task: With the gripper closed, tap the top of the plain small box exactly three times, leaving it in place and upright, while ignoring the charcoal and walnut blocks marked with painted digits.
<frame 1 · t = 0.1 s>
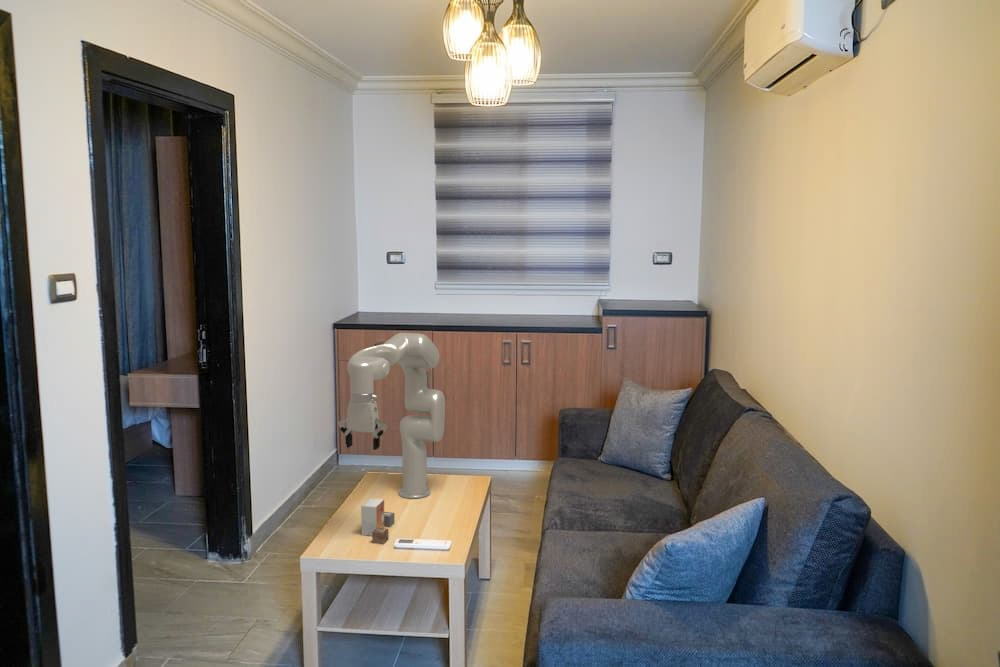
hand: (362, 447, 251), 31 cm above the table, fingers open, 9 cm apart
digit seven block: (380, 541, 251), on the table
digit one block: (386, 525, 265), on the table
small box: (373, 532, 259), on the table
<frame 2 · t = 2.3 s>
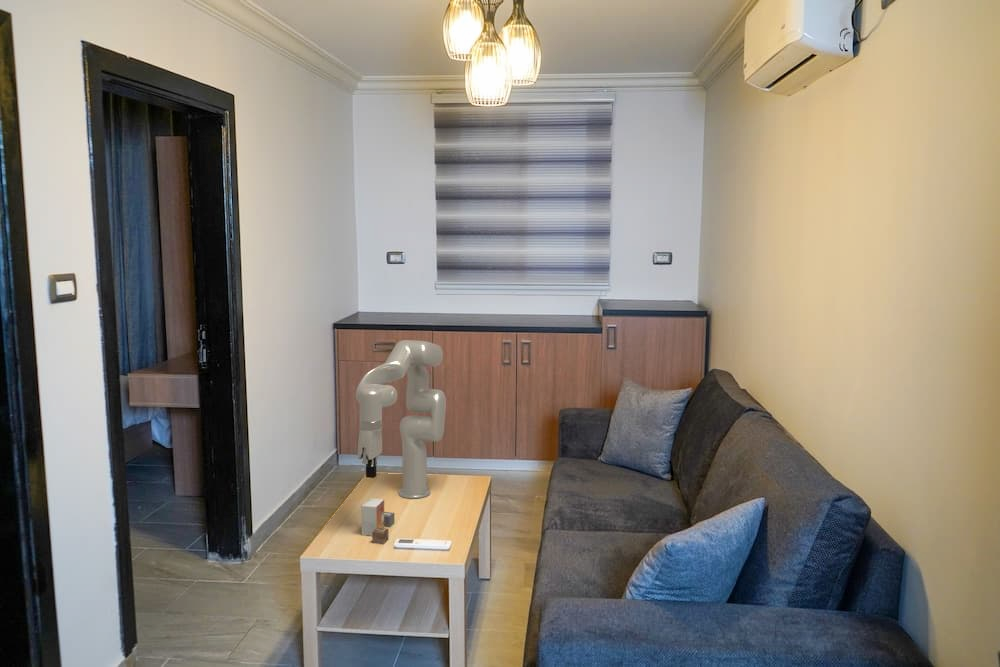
hand: (371, 476, 256), 20 cm above the table, fingers closed
nothing on the table moved.
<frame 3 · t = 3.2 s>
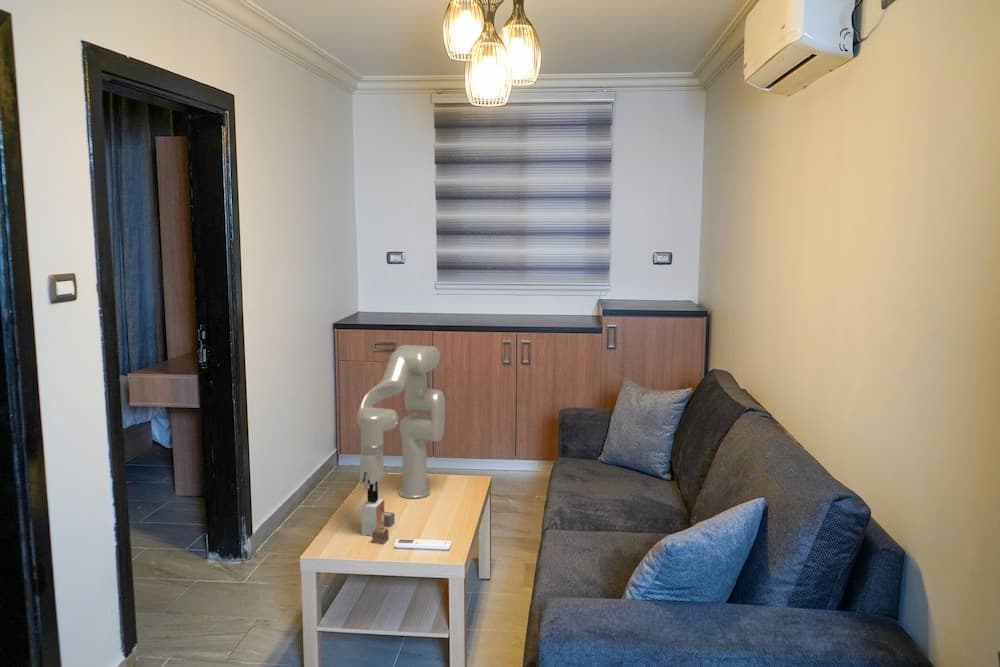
hand: (372, 500, 257), 11 cm above the table, fingers closed
nothing on the table moved.
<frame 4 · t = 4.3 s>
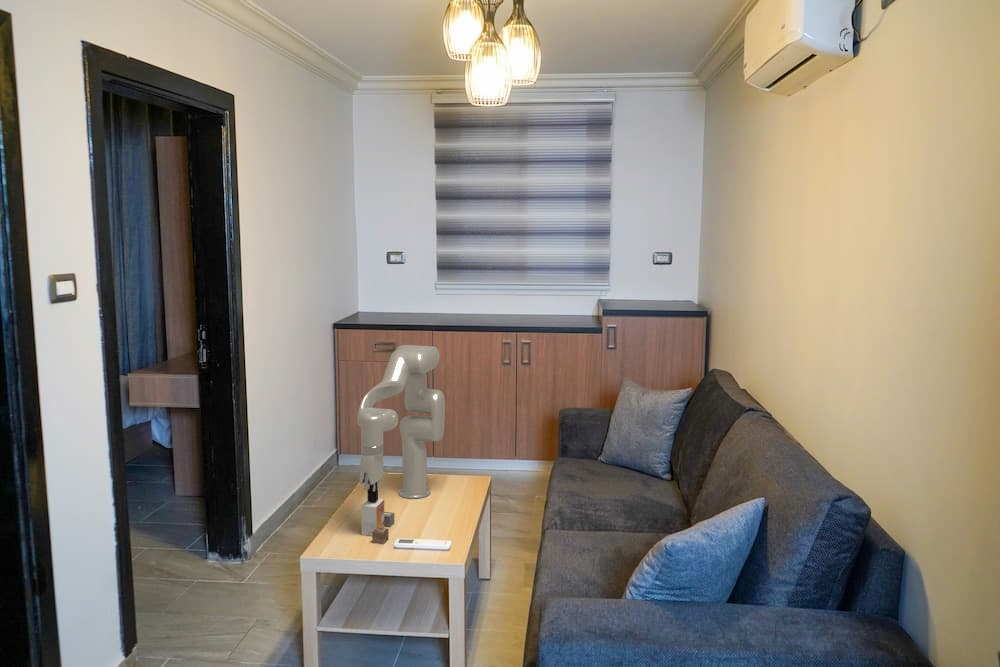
hand: (372, 501, 257), 11 cm above the table, fingers closed
nothing on the table moved.
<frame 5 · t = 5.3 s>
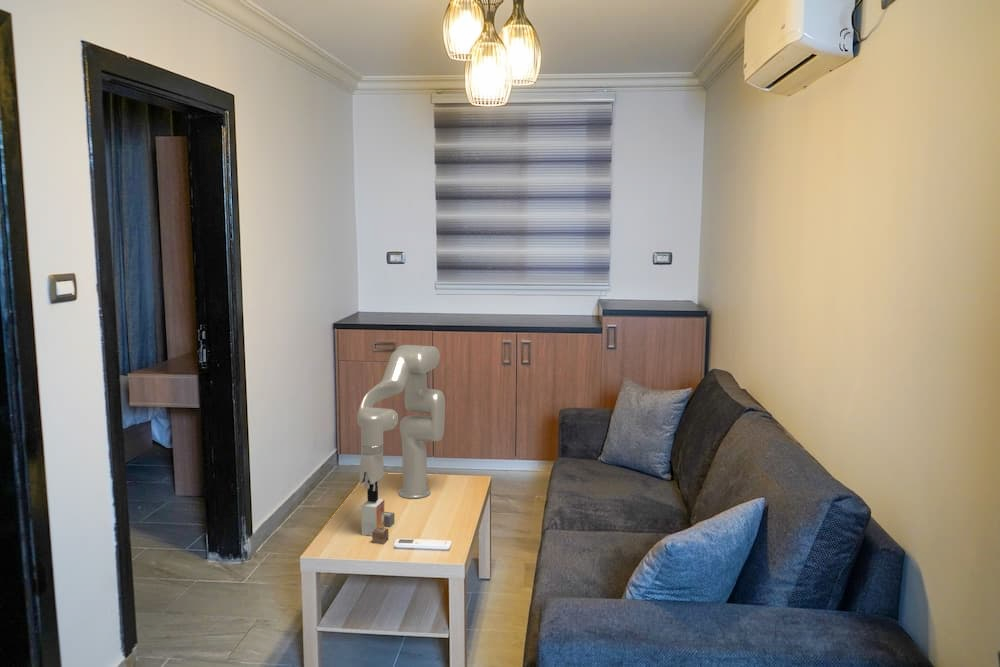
hand: (372, 500, 257), 11 cm above the table, fingers closed
nothing on the table moved.
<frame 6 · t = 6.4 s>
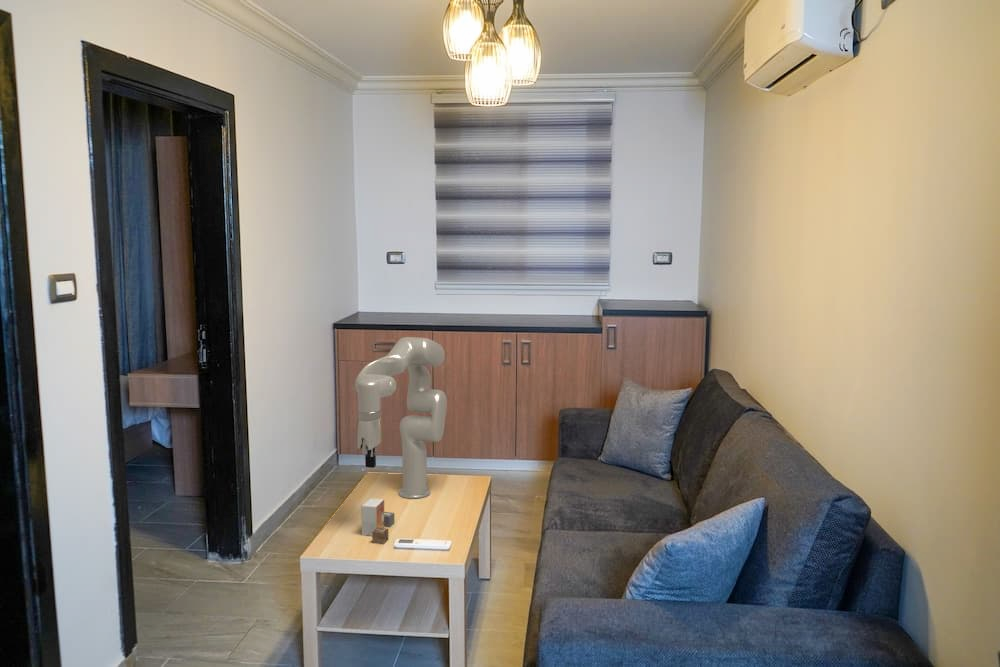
hand: (370, 466, 258), 22 cm above the table, fingers closed
nothing on the table moved.
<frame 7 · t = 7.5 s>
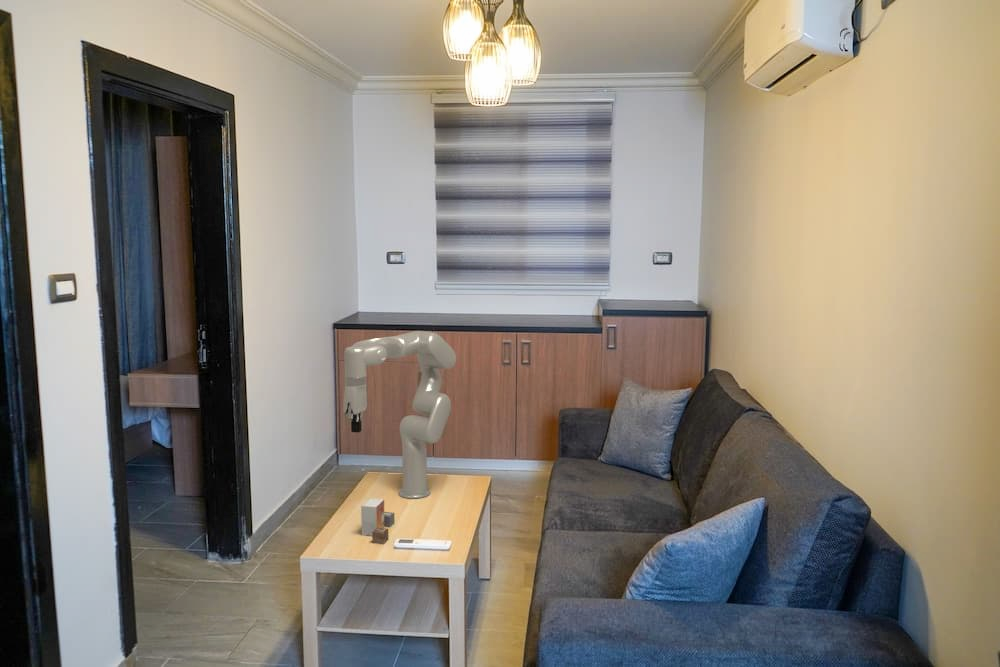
hand: (356, 431, 267), 32 cm above the table, fingers closed
nothing on the table moved.
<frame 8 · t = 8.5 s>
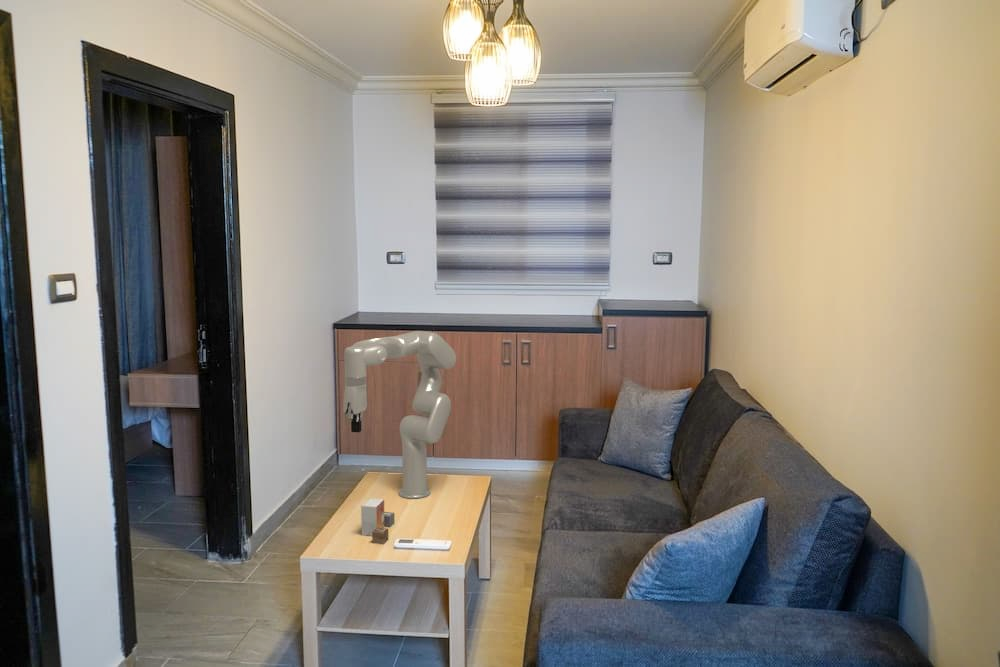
hand: (356, 431, 267), 32 cm above the table, fingers closed
nothing on the table moved.
at the end: small box moved 0.3 cm from its start; small box tilted 0°; digit one block moved 0.1 cm from its start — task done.
